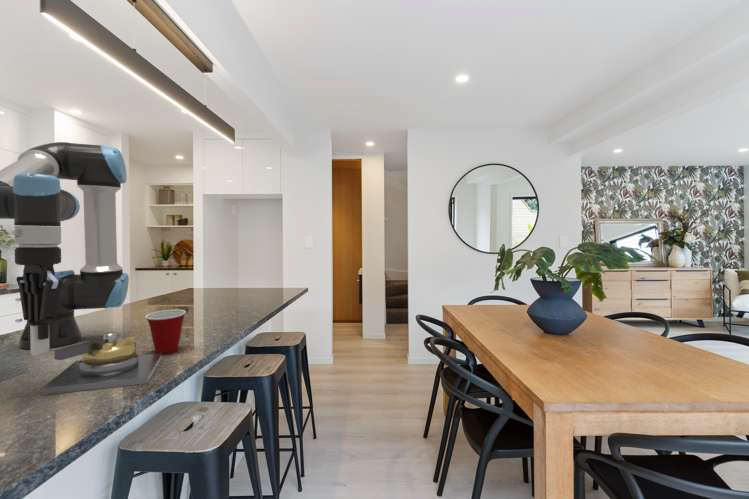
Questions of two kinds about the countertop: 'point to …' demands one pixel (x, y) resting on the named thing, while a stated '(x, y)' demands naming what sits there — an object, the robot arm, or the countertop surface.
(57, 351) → the brass dial with lever
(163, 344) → the plastic cup
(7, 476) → the countertop surface
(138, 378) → the flange plate
